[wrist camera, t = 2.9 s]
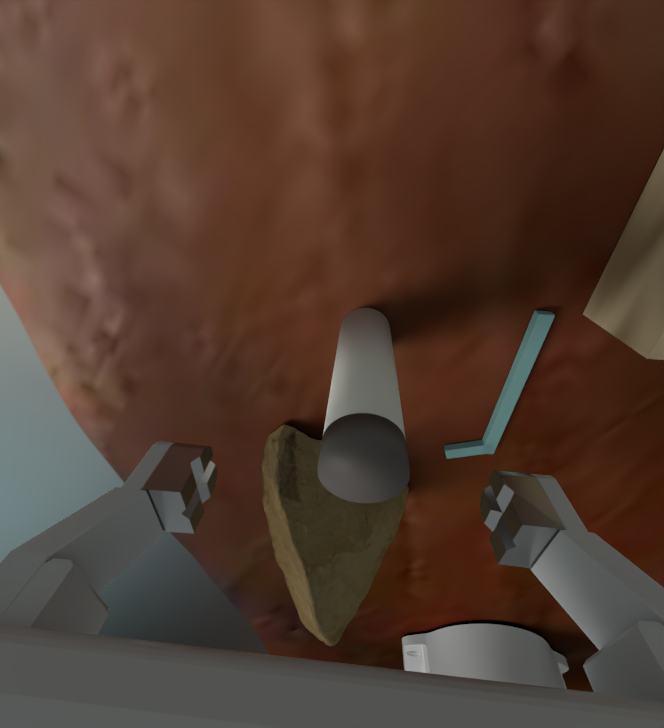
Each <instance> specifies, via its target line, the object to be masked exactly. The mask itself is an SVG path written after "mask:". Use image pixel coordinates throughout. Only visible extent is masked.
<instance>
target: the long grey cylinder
mask: <svg viewBox="0 0 664 728" xmlns="http://www.w3.org/2000/svg"><path fill="white" fill-rule="evenodd" d="M317 471H318V477H319V479H320V481H321V483H322V485H323V486H324V487H325V488H326V489H327V490H328V491H329V492H331V493H332V494H334V495H335V496H337V497H339V498H342V499H344V500H347V501H351V502H356V503H377V502H382V501H386V500H388V499H391V498H393V497H395V496H396V495H398V494H399V493H401V492H402V491H403V490H404V489H405V487H406V486H407V484H408V482H409V479H410V467H409V460H408V453H407V446H406V439H405V432H404V424H403V417H402V410H401V403H400V396H399V389H398V382H397V374H396V367H395V360H394V353H393V346H392V339H391V331H390V325H389V322H388V320H387V318H386V317H385V316H384V315H383V314H382V313H381V312H379V311H377V310H375V309H372V308H359V309H356V310H353V311H352V312H350V313H349V314H348V315H347V316H346V317H345V318H344V319H343V321H342V324H341V328H340V334H339V340H338V346H337V352H336V358H335V364H334V371H333V377H332V383H331V389H330V395H329V401H328V407H327V413H326V419H325V425H324V431H323V438H322V444H321V450H320V456H319V462H318V469H317Z"/></svg>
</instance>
